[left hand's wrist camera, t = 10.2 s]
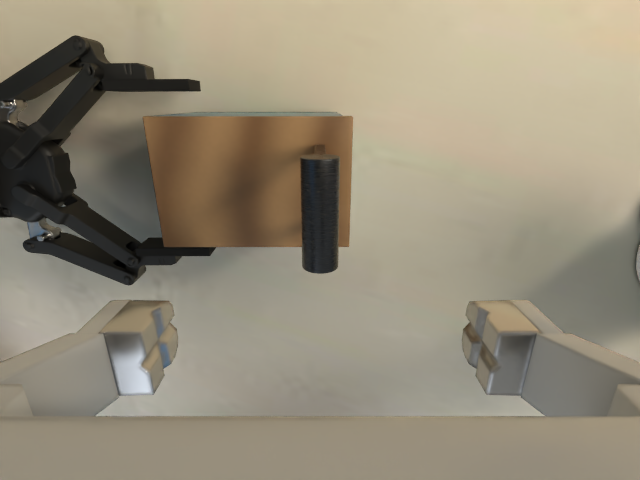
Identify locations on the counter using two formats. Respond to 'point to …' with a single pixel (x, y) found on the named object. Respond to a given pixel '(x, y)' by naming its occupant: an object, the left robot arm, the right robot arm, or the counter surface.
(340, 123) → the lid
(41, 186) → the right robot arm
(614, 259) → the counter surface
